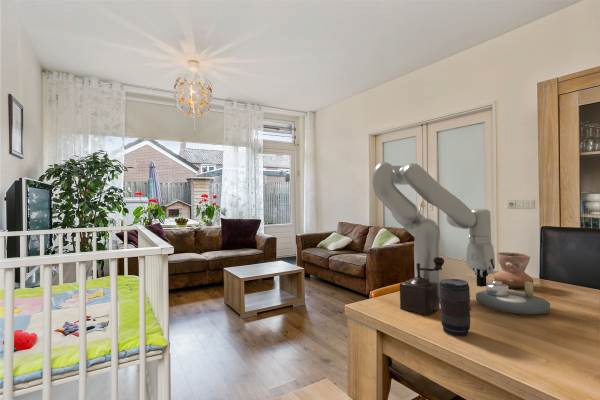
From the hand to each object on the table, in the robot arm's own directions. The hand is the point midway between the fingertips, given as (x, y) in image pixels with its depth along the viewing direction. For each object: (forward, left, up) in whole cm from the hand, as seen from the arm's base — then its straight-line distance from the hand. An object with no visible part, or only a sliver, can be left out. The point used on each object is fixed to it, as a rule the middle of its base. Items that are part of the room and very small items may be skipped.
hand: (481, 285), depth 124 cm
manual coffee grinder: (-29, -3, -5) cm, 30 cm away
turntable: (0, -13, -3) cm, 13 cm away
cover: (0, -7, -1) cm, 7 cm away
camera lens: (-34, -24, -5) cm, 42 cm away
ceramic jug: (+26, +8, -5) cm, 28 cm away
